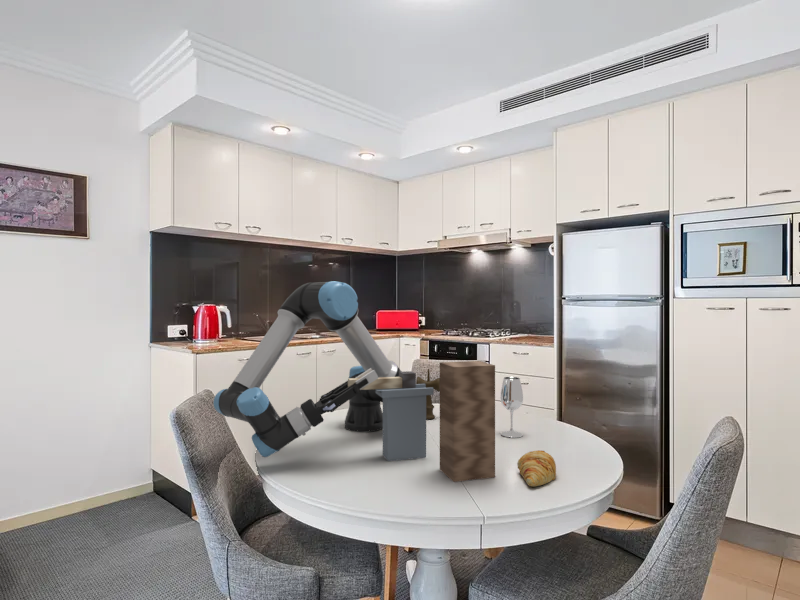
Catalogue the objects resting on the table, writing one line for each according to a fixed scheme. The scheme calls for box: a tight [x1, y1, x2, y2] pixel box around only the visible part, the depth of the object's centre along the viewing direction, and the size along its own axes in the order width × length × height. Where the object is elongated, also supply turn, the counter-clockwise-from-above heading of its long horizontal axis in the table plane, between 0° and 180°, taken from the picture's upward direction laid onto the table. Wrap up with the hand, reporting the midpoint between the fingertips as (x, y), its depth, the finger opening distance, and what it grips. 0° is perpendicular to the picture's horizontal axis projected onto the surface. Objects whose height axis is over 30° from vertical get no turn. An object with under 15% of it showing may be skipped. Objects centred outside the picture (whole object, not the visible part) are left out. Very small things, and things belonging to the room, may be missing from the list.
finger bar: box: [347, 370, 417, 390], centre depth 148 cm, size 20×4×4 cm, turn 107°
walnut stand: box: [439, 360, 496, 483], centre depth 136 cm, size 12×10×30 cm
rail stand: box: [376, 384, 435, 462], centre depth 151 cm, size 16×8×21 cm, turn 107°
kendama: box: [416, 368, 440, 420], centre depth 198 cm, size 6×10×20 cm, turn 79°
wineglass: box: [500, 376, 524, 439], centre depth 174 cm, size 8×8×20 cm
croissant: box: [516, 450, 557, 487], centre depth 134 cm, size 21×10×8 cm, turn 158°
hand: (374, 373), depth 148 cm, fingers open, 3 cm apart
